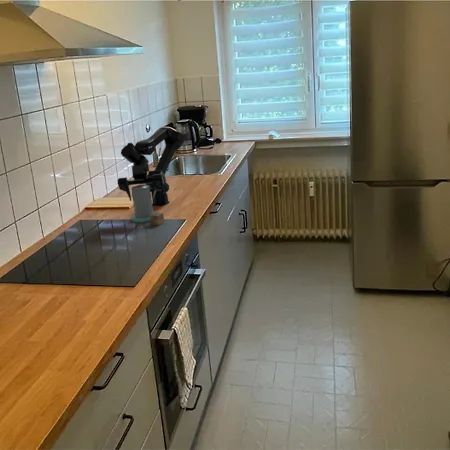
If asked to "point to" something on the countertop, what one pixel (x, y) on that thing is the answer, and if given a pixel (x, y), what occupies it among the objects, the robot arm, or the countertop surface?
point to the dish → (140, 219)
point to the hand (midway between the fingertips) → (141, 199)
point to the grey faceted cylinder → (142, 201)
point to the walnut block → (156, 218)
